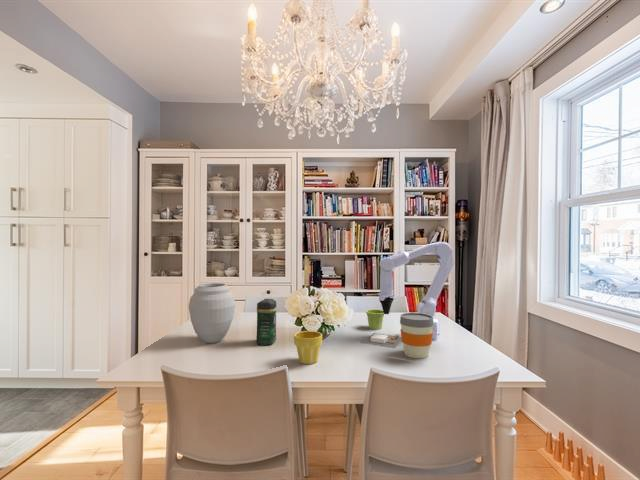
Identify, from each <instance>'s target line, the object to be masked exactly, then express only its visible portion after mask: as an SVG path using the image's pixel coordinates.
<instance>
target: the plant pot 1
mask: <svg viewBox="0 0 640 480" xmlns="http://www.w3.org/2000/svg"><path fill="white" fill-rule="evenodd" d="M293 335H294V336H293V339H294V343H293V344H294V345H295V346H296V350H297V351H296V352H297V355H298V356H297V357H298V359H299V360H298V361H299V362H300V363H301V364H303V365H305V364H306V365H313V364H316V363H317V362H318V360H319V356H320V355H319V353H320V348H321V345H322V344H323V333H321V332H319V331H316V330H305V331H298V332H296V333H295V334H293Z"/></svg>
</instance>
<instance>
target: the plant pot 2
mask: <svg viewBox="0 0 640 480" xmlns="http://www.w3.org/2000/svg"><path fill="white" fill-rule="evenodd" d="M365 313H366V316H367V323H368V329H370V330H374V331H375V330H377V331H378V330H382V329H383V328H382V327H383V320H384V316H385V314H384V312H383V309H375V308H374V309H367V310H366V311H365Z"/></svg>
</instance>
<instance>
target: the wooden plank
mask: <svg viewBox="0 0 640 480" xmlns="http://www.w3.org/2000/svg"><path fill="white" fill-rule="evenodd" d="M392 336H393V337H392V338H391V340H388V341H387V342H386V343H389V344H394V343H395V342H396V341H395V340H396V339H397V338H399V337H400V335H399V334H397V333H396V334H394V335H392Z"/></svg>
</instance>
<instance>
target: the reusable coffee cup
mask: <svg viewBox="0 0 640 480" xmlns="http://www.w3.org/2000/svg"><path fill="white" fill-rule="evenodd" d="M399 324H400V327H401V329H400V337H401V338H402V342H401V343H402V344H403V352H404V355H405V356H406V357H409V358H413V359H425V358H428V357H429V356H430V355H429V354H430V349H431V348H430V347H431V345H432V342H433V341H432V336H433V331H432V328H433V325H434V323H433V317H432V316H431V315H427V314H422V313H418V312H405V313H402V314H400V319H399Z"/></svg>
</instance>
